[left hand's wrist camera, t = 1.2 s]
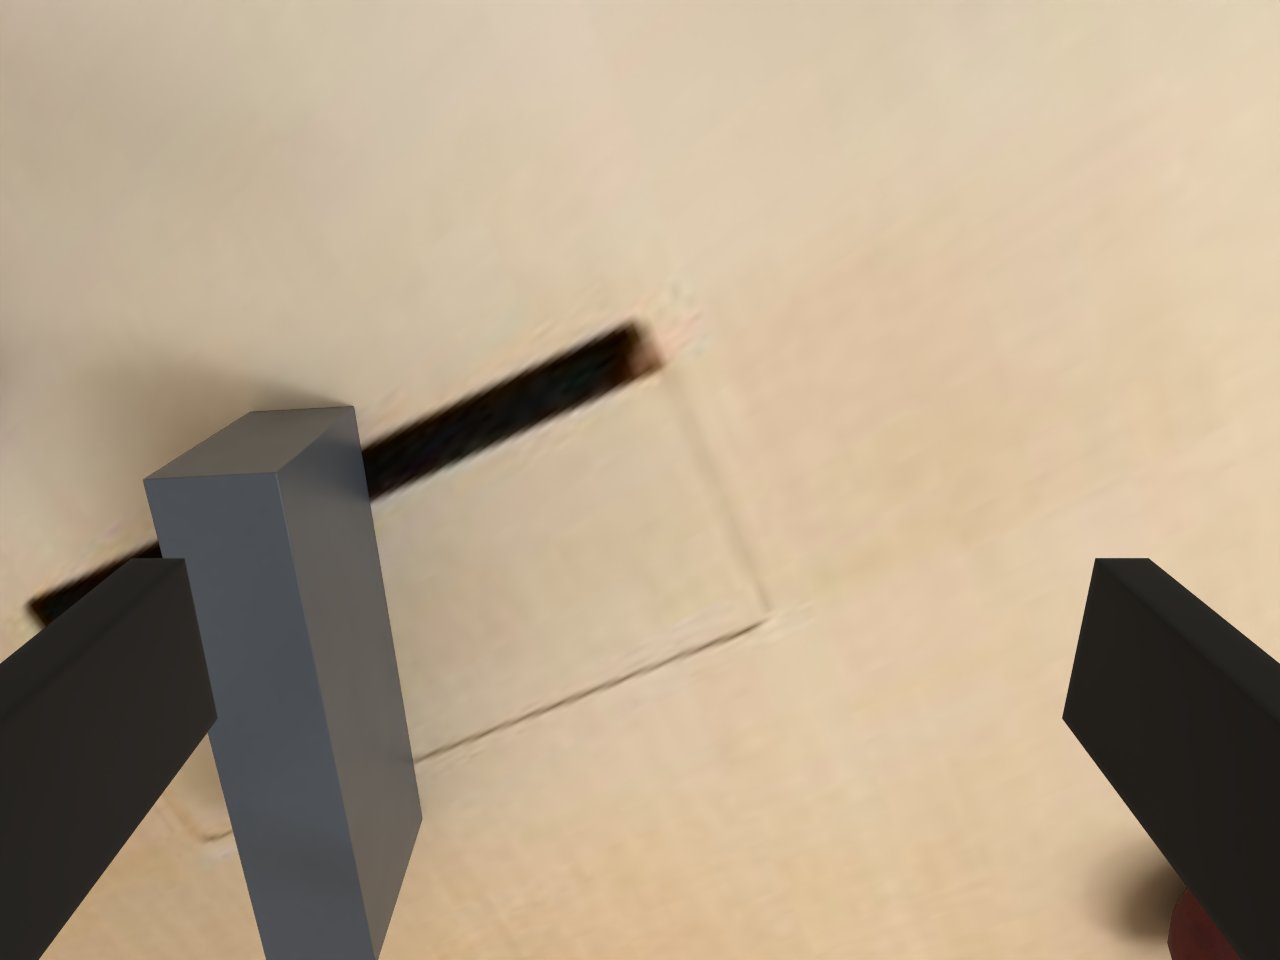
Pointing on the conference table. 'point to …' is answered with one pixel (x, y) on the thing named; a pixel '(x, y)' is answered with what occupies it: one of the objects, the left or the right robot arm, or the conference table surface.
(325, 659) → the bar
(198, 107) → the conference table surface
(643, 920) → the conference table surface
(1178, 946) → the dark maroon ball
